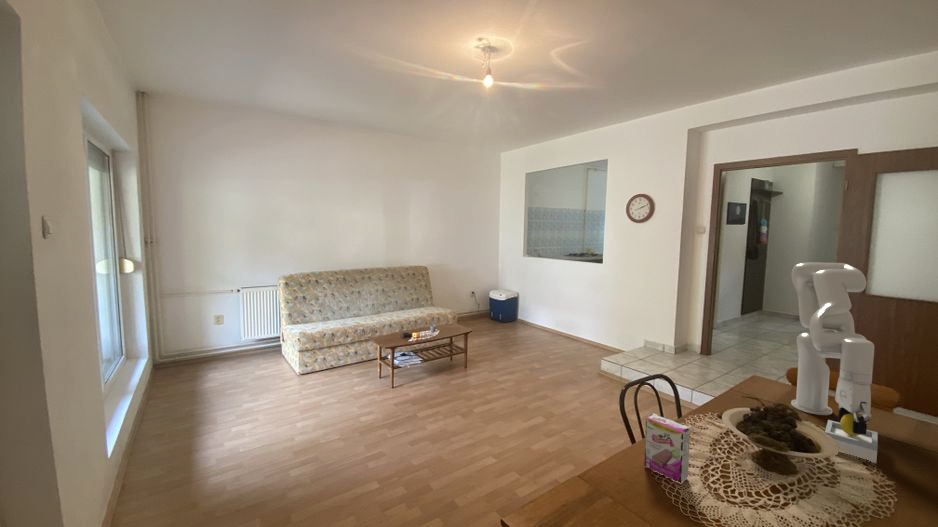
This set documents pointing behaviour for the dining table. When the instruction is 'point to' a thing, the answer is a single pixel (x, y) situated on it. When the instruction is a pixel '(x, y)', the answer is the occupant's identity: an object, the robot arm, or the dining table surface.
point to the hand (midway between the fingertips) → (851, 427)
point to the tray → (854, 441)
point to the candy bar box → (667, 447)
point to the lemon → (848, 424)
